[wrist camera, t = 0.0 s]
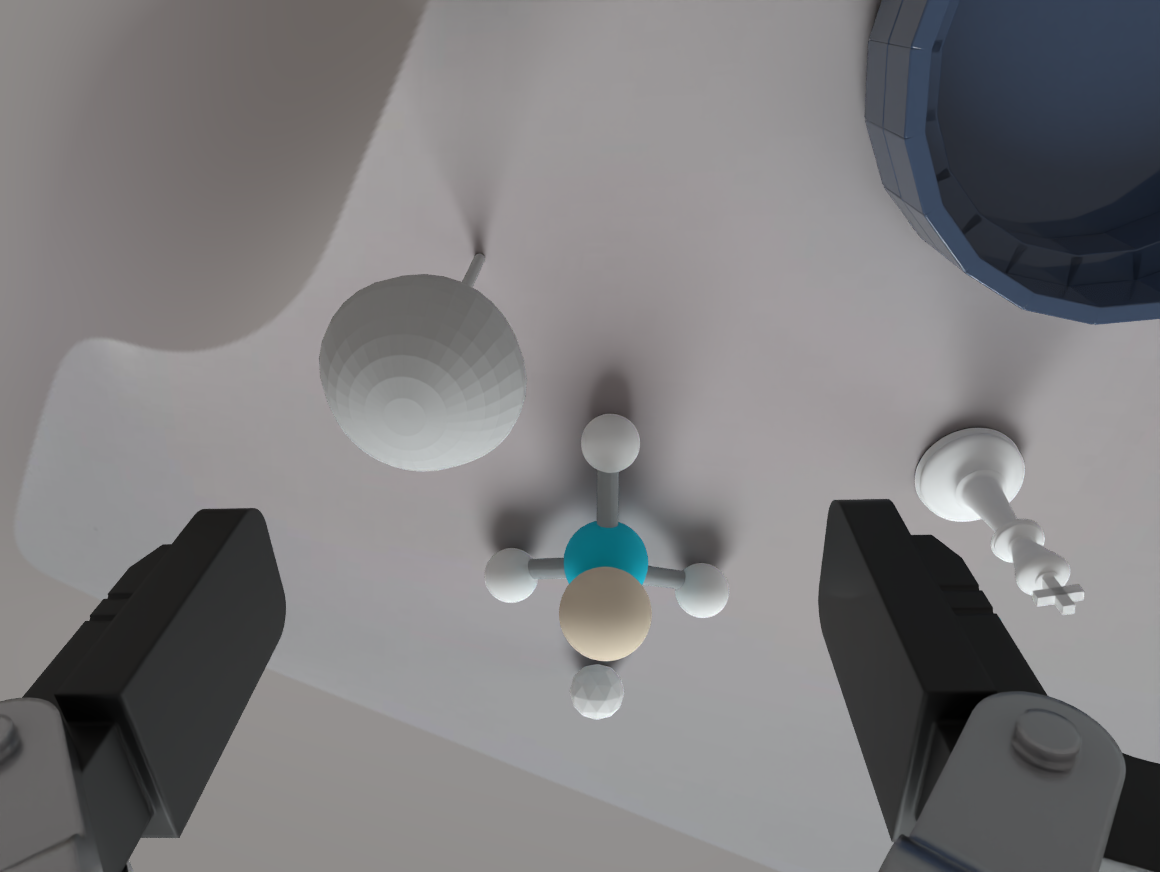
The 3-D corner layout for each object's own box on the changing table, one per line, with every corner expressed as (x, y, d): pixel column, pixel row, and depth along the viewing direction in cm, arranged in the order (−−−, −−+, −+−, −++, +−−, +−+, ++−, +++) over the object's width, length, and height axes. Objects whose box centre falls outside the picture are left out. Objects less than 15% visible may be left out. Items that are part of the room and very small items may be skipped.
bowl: (770, 34, 31) (800, 42, 26) (1237, -394, 25) (1387, -486, 20) (1003, 355, 37) (1063, 410, 32) (1428, 68, 31) (1580, 83, 26)
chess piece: (912, 437, 39) (1001, 568, 30) (1021, 418, 38) (1145, 546, 30) (915, 522, 41) (999, 667, 32) (1019, 506, 41) (1133, 649, 32)
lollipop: (577, 244, 35) (560, 398, 22) (504, 349, 37) (448, 545, 24) (452, 157, 34) (351, 266, 20) (383, 272, 36) (253, 437, 23)
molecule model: (507, 619, 45) (485, 750, 37) (448, 429, 39) (409, 537, 32) (728, 589, 44) (754, 719, 36) (699, 388, 38) (722, 490, 30)
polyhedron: (570, 651, 46) (568, 692, 43) (624, 652, 46) (625, 693, 43) (571, 689, 47) (568, 730, 45) (623, 690, 47) (624, 732, 45)
